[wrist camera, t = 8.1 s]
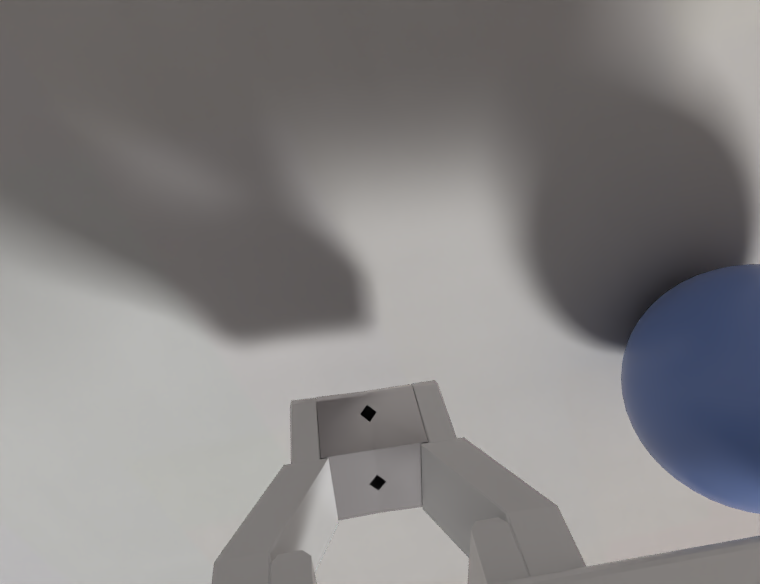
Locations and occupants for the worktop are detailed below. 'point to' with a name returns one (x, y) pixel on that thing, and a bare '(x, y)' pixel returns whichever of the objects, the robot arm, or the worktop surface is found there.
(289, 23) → the worktop surface
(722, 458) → the blue ball
